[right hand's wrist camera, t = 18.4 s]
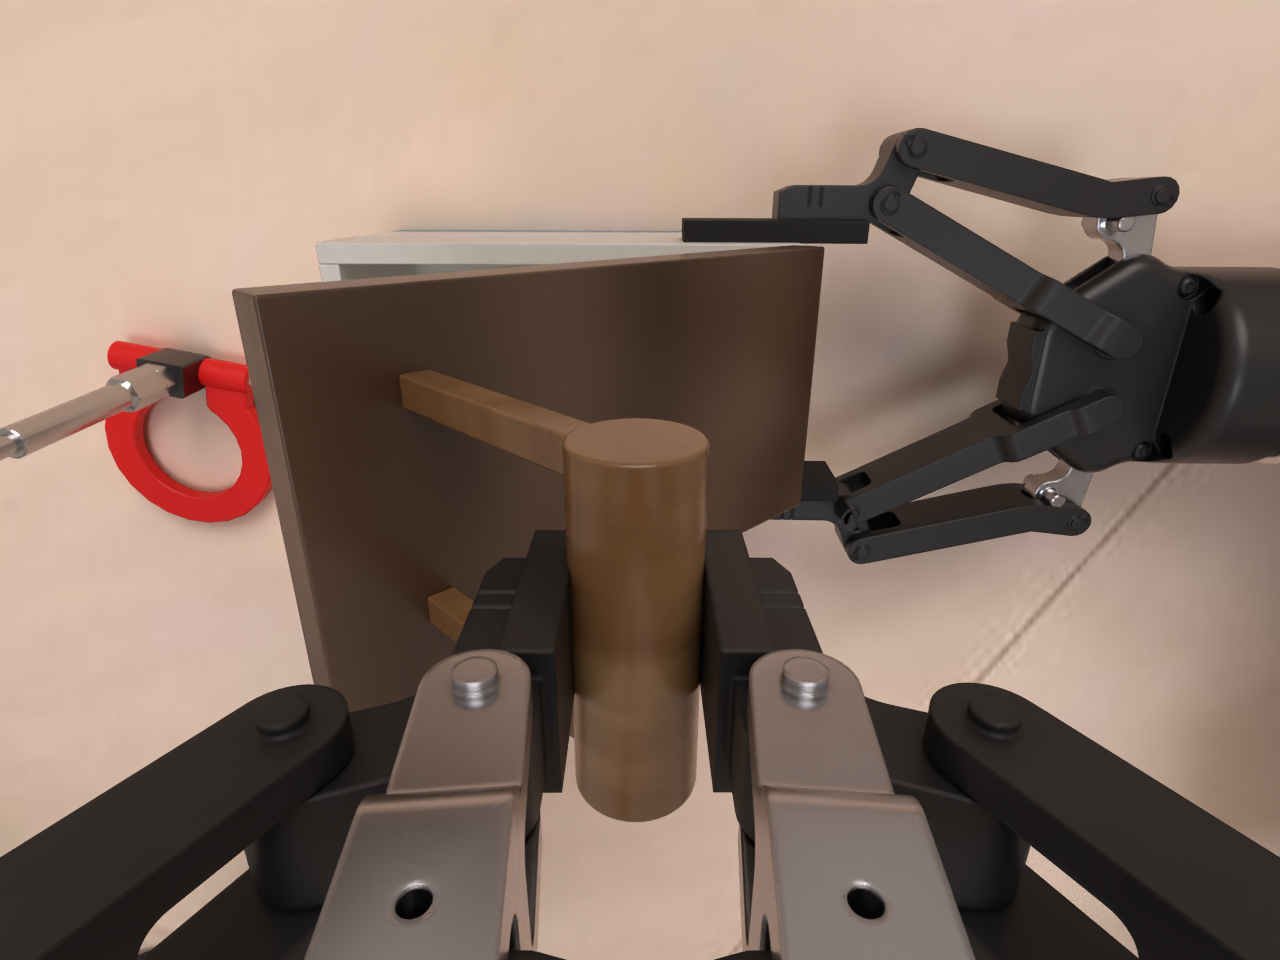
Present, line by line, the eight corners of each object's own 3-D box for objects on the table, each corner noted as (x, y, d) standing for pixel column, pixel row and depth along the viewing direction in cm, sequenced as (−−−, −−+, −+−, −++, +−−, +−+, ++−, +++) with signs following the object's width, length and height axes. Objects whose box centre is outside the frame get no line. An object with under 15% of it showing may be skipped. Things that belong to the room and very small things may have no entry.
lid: (317, 705, 16) (552, 993, 10) (229, 288, 13) (510, 370, 7) (773, 495, 27) (1007, 576, 22) (792, 244, 24) (1078, 261, 18)
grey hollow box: (423, 421, 36) (354, 487, 28) (400, 230, 33) (314, 241, 25) (757, 425, 36) (784, 492, 28) (770, 231, 32) (805, 244, 24)
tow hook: (284, 525, 39) (279, 364, 35) (115, 684, 27) (79, 468, 23) (130, 497, 39) (108, 332, 35) (-108, 646, 27) (-181, 420, 23)
